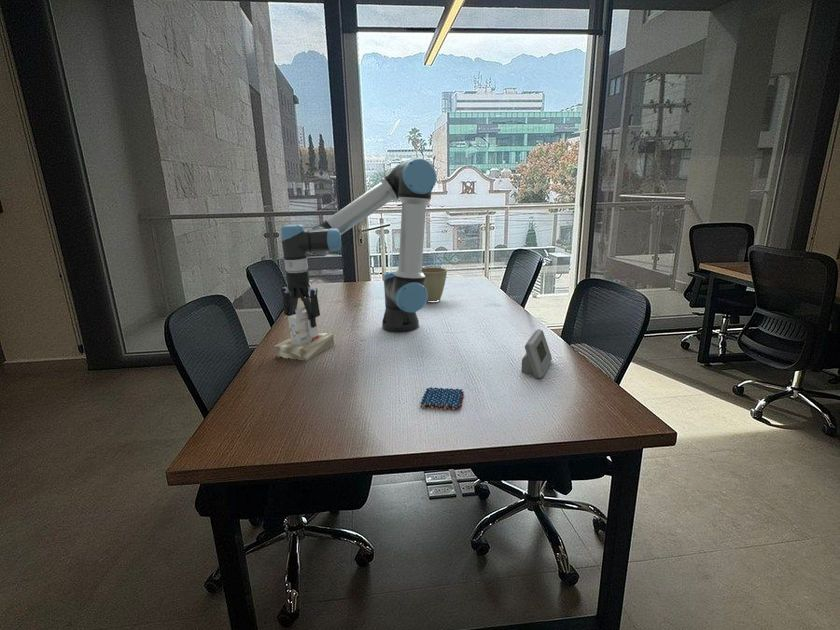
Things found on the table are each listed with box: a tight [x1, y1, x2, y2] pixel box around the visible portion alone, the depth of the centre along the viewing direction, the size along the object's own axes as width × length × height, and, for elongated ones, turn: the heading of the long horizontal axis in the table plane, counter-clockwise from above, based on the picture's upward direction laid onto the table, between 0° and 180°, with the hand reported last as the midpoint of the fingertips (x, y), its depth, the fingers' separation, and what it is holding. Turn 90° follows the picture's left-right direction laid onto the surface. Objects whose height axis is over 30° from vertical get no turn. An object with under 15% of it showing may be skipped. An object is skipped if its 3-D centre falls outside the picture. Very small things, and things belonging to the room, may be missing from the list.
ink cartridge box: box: [287, 306, 319, 346], centre depth 153 cm, size 9×5×15 cm, turn 143°
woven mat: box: [420, 386, 465, 411], centre depth 115 cm, size 10×11×2 cm
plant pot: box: [422, 267, 448, 301], centre depth 216 cm, size 15×15×16 cm
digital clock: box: [520, 328, 553, 379], centre depth 132 cm, size 16×9×11 cm, turn 142°
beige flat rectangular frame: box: [274, 332, 335, 362], centre depth 155 cm, size 13×17×4 cm
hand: (304, 334), depth 154 cm, fingers closed on ink cartridge box, 6 cm apart
